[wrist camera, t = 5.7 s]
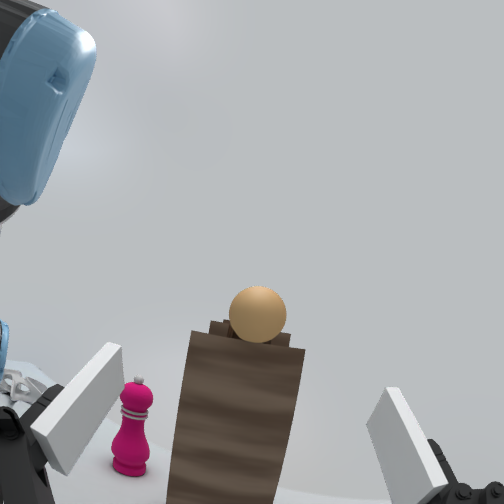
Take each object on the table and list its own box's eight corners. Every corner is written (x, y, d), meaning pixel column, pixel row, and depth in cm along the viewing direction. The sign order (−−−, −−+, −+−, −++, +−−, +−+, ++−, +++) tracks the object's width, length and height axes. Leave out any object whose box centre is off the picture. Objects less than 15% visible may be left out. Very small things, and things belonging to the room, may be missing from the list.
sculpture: (26, 418, 39) (26, 393, 41) (-28, 382, 37) (-27, 359, 39) (60, 405, 55) (62, 384, 57) (9, 378, 54) (10, 359, 56)
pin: (281, 346, 15) (290, 291, 16) (224, 337, 16) (234, 281, 16) (257, 342, 38) (261, 319, 39) (234, 338, 38) (238, 315, 39)
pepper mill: (152, 467, 41) (164, 378, 47) (140, 482, 35) (152, 383, 40) (119, 456, 42) (129, 368, 48) (104, 468, 35) (112, 370, 41)
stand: (248, 577, 15) (309, 322, 25) (161, 563, 15) (196, 303, 25) (245, 513, 31) (282, 329, 41) (183, 503, 31) (214, 318, 41)
